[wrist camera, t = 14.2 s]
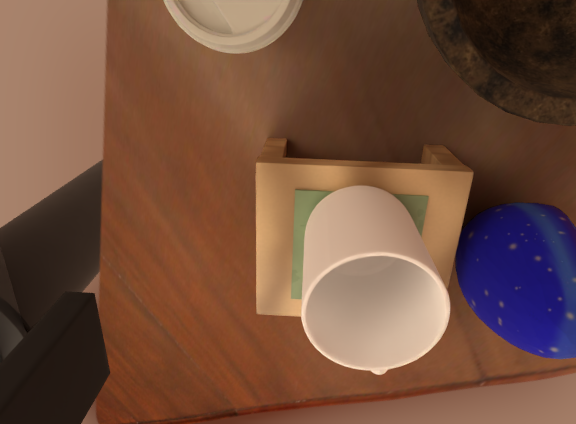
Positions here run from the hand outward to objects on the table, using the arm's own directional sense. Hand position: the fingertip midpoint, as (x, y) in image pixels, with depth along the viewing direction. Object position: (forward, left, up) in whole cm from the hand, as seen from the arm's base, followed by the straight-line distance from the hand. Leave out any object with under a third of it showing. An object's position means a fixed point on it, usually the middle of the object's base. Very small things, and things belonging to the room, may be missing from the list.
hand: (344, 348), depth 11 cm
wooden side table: (+3, -9, -29) cm, 30 cm away
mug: (+3, -9, -21) cm, 23 cm away
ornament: (+17, -11, -29) cm, 35 cm away
